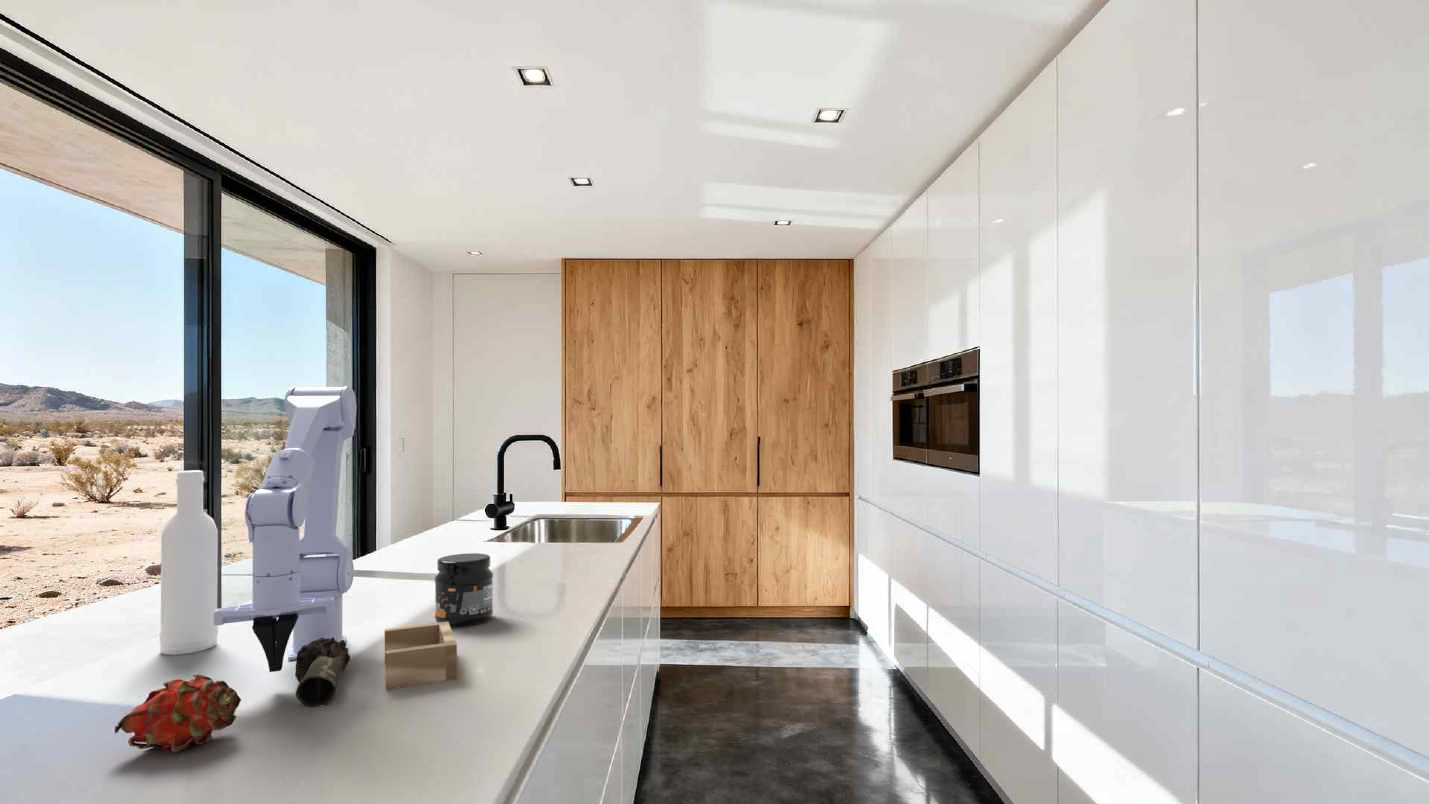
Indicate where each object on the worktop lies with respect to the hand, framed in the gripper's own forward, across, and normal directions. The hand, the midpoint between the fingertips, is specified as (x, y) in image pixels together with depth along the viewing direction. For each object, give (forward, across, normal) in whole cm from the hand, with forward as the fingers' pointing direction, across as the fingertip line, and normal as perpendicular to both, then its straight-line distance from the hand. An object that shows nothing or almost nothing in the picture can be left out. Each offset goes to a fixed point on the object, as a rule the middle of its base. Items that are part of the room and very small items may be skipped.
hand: (275, 669), depth 103 cm
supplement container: (+3, +28, +26) cm, 38 cm away
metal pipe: (+3, +6, -1) cm, 6 cm away
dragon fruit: (+3, -8, -16) cm, 18 cm away
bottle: (+3, -16, +30) cm, 34 cm away
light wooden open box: (+3, +18, 0) cm, 18 cm away
